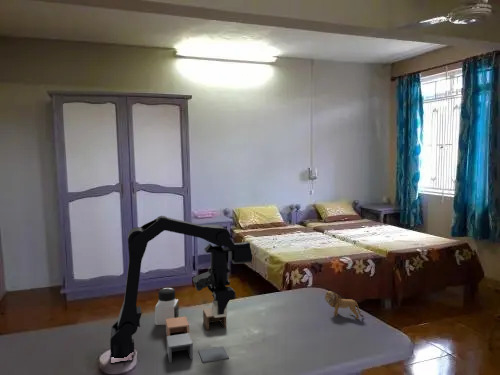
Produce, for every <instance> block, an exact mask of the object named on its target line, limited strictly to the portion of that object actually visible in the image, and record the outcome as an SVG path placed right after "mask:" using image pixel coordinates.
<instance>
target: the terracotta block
mask: <svg viewBox="0 0 500 375" xmlns="http://www.w3.org/2000/svg"><path fill="white" fill-rule="evenodd" d="M182 332H184V334H186V333H189V334H190V324H189V321H188V319H187V316H179V317H177V318H169V319H166V325H165V334H166V337H167V336H171V334H174V333H182Z"/></svg>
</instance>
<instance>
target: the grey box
mask: <svg viewBox="0 0 500 375" xmlns="http://www.w3.org/2000/svg"><path fill="white" fill-rule="evenodd" d="M179 351H187V353H188V355H189V356H188V357H189V359H190V360H193V354H194V351H193V340H192V337H191V334H190V332H189V333H186V334H185V333H181V334H174V335H170V336H167V335H166V354H167V358H168V363H171V364H172V363H173V361H172V360H173V356H172V353H174V352H179Z"/></svg>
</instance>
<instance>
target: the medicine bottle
mask: <svg viewBox="0 0 500 375" xmlns="http://www.w3.org/2000/svg"><path fill="white" fill-rule="evenodd" d="M157 295H158V302H157V303H156V305H155V306H154V311H155V312H154V314H155V325H156V326H166V319H169V318H177V317H180V316H179V313H180V312H179V308H180V305H179V299H178V298H177V299H176V289H174V288H172V287H165V288H161V289H160V290H158V294H157Z"/></svg>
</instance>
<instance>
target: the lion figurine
mask: <svg viewBox="0 0 500 375" xmlns="http://www.w3.org/2000/svg"><path fill="white" fill-rule="evenodd" d="M324 301H325V303H327V304H328V305H329V306H330V307H331V308H334V311H333V316H335V317H337V316H338V315H339V309H345V310H346V309H349V310H350V311H351V313H349V316H354V315H355V317H354V319H355V320H356V319H357V320H359V319H360V317H362V318H364V315H363V314H362V313H361V311H360V308H359V305H358V303H357V301H356V300H354V299H352V298H351V299H349V298H348V299H346V298H342V297H341V296H340V294H337V293H335V292H334V291H331V290H329V291H326V292H325V293H324ZM356 309H357V310H356ZM359 316H360V317H359Z"/></svg>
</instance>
